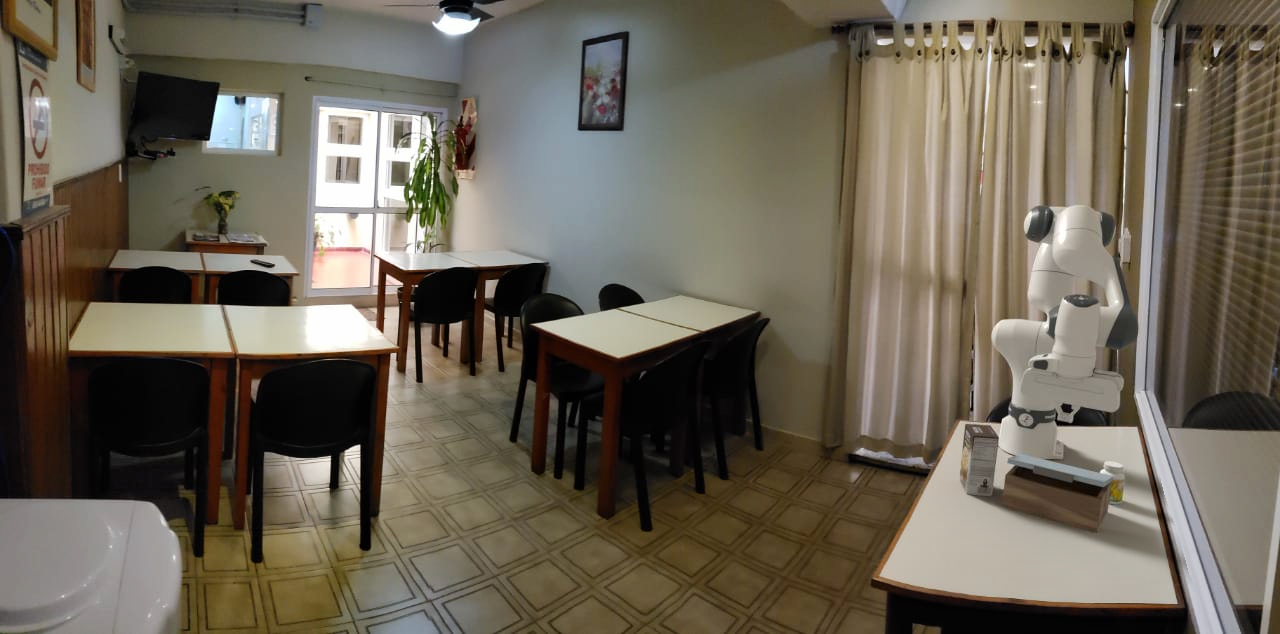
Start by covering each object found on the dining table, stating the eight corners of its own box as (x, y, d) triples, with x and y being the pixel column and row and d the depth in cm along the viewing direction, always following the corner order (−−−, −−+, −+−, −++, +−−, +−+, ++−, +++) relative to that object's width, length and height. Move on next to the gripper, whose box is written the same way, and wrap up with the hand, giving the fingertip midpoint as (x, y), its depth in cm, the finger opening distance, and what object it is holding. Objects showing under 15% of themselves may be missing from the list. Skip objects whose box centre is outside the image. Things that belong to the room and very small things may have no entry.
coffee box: (958, 479, 189) (964, 422, 186) (983, 482, 188) (990, 424, 185) (966, 494, 180) (972, 434, 177) (993, 497, 179) (1000, 437, 176)
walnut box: (1017, 487, 185) (1021, 458, 183) (1107, 511, 172) (1112, 481, 170) (1001, 505, 174) (1005, 474, 173) (1096, 532, 161) (1101, 500, 160)
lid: (1020, 461, 183) (1021, 454, 183) (1111, 483, 170) (1113, 476, 170) (1005, 465, 172) (1006, 458, 172) (1102, 490, 159) (1103, 482, 159)
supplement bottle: (1126, 502, 177) (1131, 466, 175) (1112, 506, 175) (1118, 469, 173) (1104, 493, 182) (1109, 458, 180) (1091, 497, 180) (1096, 461, 178)
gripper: (1127, 370, 161) (1119, 428, 164) (1028, 354, 175) (1022, 408, 177) (1122, 376, 157) (1114, 435, 159) (1021, 359, 170) (1015, 414, 173)
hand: (1064, 420), depth 169 cm, fingers closed
